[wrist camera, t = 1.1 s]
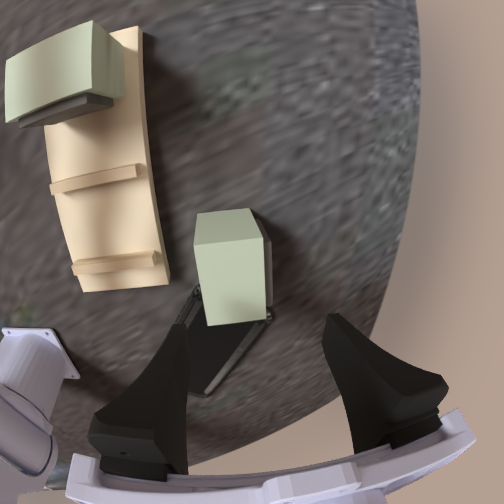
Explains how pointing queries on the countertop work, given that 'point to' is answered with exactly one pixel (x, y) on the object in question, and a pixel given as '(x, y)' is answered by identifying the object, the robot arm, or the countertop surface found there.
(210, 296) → the block
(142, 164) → the block holder
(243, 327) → the phone
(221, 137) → the countertop surface
